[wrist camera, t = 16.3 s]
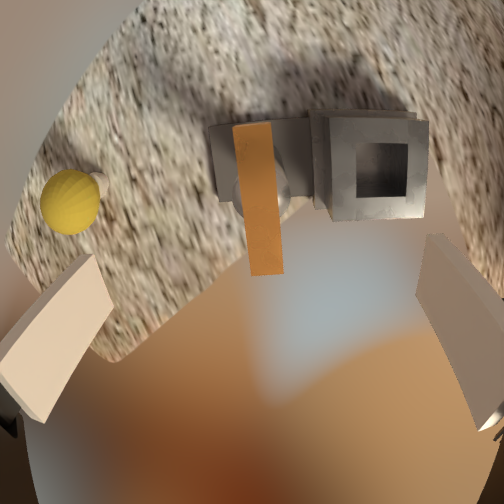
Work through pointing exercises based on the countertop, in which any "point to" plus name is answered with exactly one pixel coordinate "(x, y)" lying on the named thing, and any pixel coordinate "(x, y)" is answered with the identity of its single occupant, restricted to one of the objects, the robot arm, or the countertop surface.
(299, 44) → the countertop surface
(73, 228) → the light bulb
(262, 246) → the key
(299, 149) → the mat
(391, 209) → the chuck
